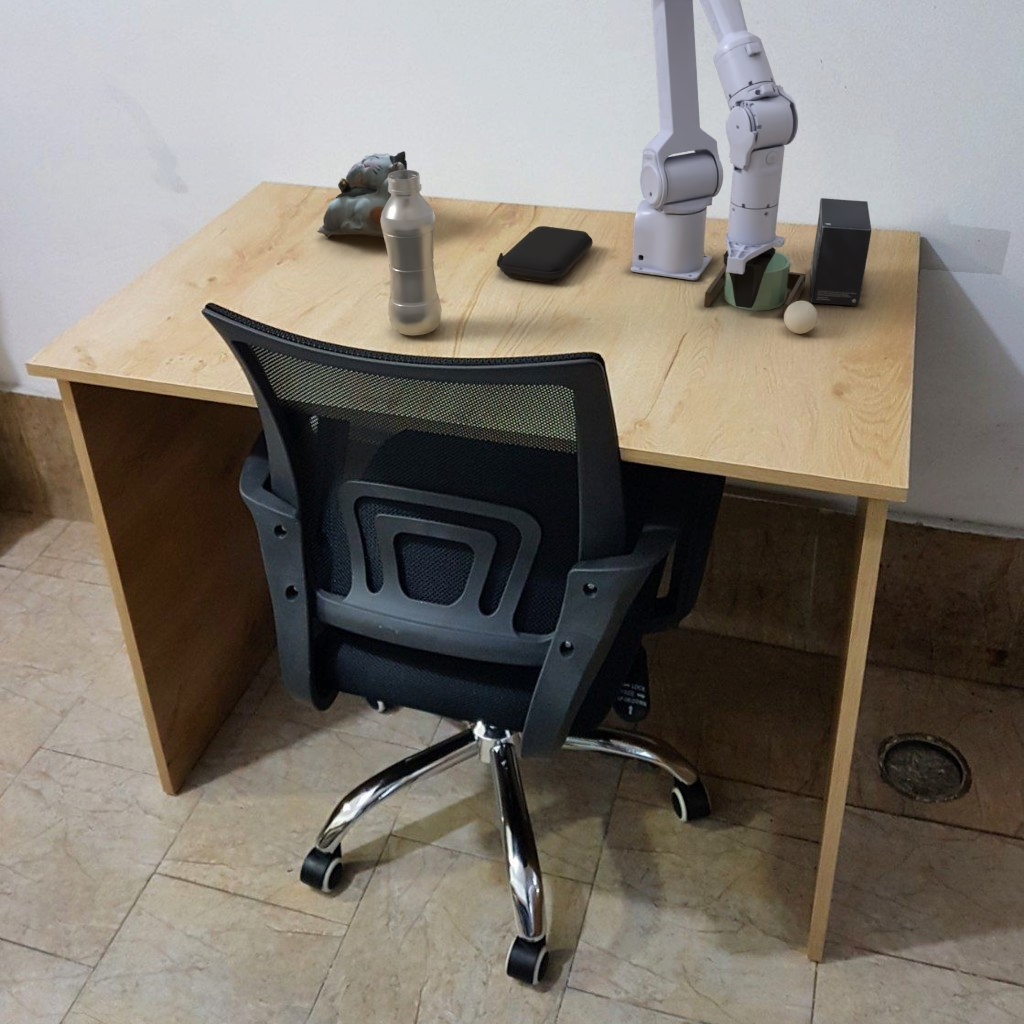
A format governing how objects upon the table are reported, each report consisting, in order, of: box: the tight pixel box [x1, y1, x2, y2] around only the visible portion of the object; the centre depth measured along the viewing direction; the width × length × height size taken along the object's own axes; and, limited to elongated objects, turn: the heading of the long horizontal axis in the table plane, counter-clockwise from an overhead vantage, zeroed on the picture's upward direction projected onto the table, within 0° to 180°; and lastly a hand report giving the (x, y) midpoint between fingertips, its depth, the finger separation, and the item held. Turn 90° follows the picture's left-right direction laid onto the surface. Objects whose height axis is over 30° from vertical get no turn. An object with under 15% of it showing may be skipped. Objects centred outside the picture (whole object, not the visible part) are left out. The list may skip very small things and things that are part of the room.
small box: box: [809, 197, 873, 307], centre depth 147 cm, size 11×6×10 cm, turn 168°
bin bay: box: [703, 264, 807, 319], centre depth 148 cm, size 11×10×2 cm
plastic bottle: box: [380, 169, 443, 336], centre depth 138 cm, size 6×7×20 cm
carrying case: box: [496, 225, 594, 284], centre depth 159 cm, size 11×3×15 cm
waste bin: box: [723, 250, 792, 311], centre depth 147 cm, size 8×8×5 cm
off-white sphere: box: [783, 300, 819, 335], centre depth 139 cm, size 4×4×4 cm
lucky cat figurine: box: [316, 150, 408, 238], centre depth 168 cm, size 15×12×14 cm
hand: (744, 305), depth 143 cm, fingers closed
